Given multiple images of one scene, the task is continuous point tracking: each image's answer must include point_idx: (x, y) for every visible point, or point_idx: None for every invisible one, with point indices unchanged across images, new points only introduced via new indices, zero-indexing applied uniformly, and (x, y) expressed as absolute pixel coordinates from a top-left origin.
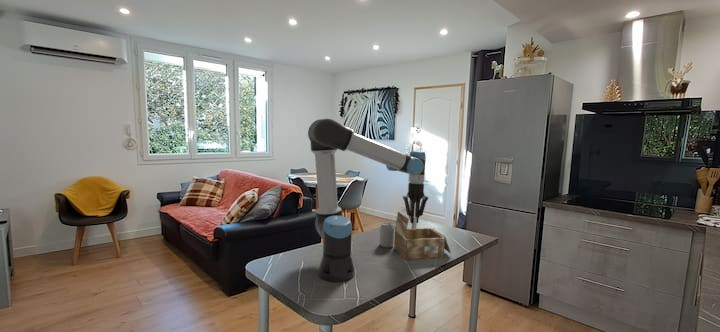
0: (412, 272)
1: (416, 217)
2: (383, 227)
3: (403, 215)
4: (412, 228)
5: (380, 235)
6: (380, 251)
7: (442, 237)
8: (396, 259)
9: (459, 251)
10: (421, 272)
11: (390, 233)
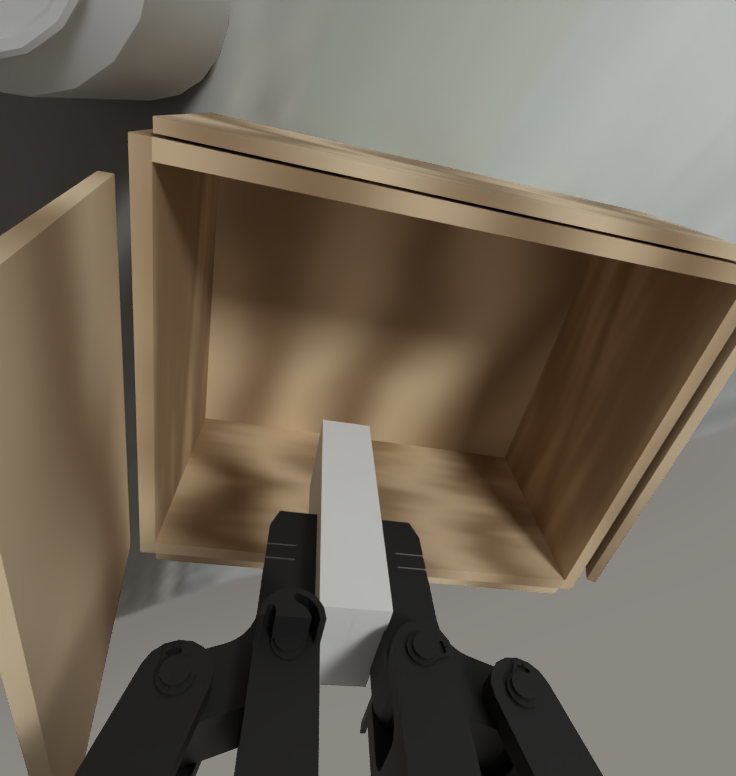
0: (170, 566)
1: (354, 684)
2: None
3: (9, 701)
4: (315, 466)
5: None
6: (12, 169)
7: (569, 566)
8: (131, 391)
9: (724, 397)
10: (225, 576)
11: (72, 97)
